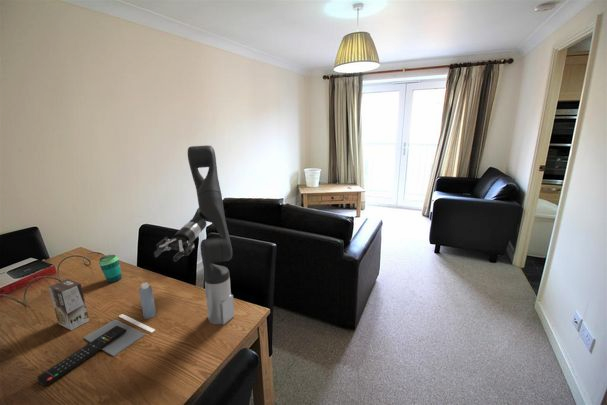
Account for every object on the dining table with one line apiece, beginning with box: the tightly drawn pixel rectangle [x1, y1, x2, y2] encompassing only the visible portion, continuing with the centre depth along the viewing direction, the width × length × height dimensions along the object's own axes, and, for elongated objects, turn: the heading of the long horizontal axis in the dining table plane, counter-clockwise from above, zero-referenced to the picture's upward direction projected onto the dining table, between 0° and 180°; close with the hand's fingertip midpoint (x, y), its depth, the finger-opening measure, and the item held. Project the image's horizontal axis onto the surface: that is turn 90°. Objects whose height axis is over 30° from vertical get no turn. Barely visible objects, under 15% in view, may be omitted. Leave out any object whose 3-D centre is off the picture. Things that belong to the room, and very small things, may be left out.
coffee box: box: [48, 278, 90, 331], centre depth 105 cm, size 9×6×16 cm
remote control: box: [37, 326, 126, 387], centre depth 91 cm, size 5×24×1 cm, turn 156°
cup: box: [98, 254, 123, 284], centre depth 135 cm, size 8×8×12 cm
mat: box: [83, 318, 146, 357], centre depth 100 cm, size 18×11×1 cm, turn 63°
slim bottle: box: [138, 281, 157, 320], centre depth 110 cm, size 4×4×14 cm
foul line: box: [118, 313, 156, 334], centre depth 107 cm, size 20×2×1 cm, turn 63°
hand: (164, 257), depth 110 cm, fingers open, 8 cm apart
